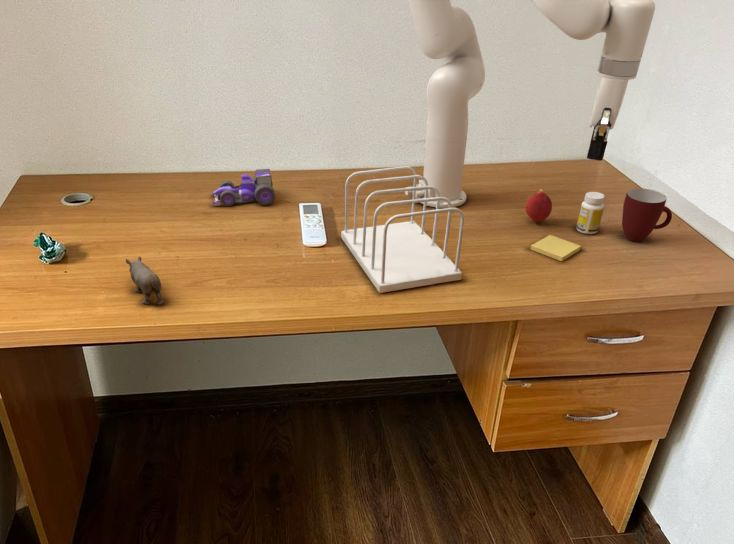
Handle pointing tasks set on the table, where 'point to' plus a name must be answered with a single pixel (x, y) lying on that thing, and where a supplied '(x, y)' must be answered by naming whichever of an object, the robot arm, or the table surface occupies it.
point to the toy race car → (247, 190)
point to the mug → (643, 213)
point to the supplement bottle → (591, 213)
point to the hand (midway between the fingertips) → (596, 151)
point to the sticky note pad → (555, 247)
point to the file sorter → (401, 240)
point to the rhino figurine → (145, 280)
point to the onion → (539, 206)
